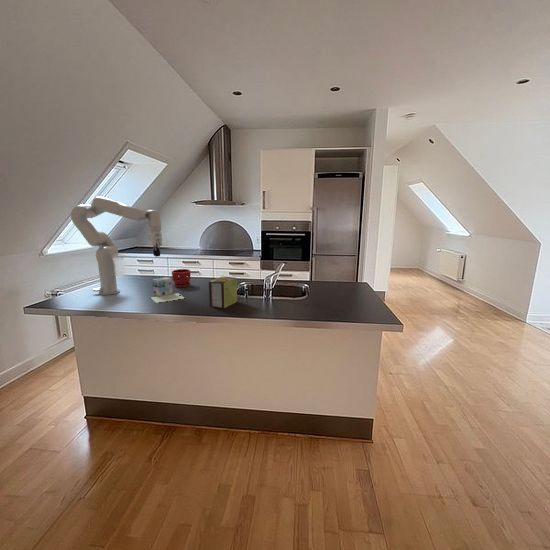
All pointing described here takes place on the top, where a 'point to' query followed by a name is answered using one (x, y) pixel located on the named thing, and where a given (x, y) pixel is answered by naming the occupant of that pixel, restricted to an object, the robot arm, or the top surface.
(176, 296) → the pale green mat
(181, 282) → the plant pot
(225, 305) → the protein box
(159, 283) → the light bulb box
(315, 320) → the top surface
